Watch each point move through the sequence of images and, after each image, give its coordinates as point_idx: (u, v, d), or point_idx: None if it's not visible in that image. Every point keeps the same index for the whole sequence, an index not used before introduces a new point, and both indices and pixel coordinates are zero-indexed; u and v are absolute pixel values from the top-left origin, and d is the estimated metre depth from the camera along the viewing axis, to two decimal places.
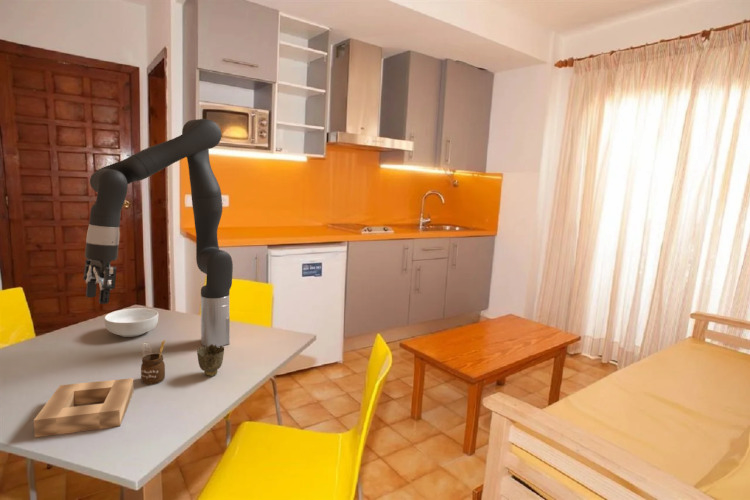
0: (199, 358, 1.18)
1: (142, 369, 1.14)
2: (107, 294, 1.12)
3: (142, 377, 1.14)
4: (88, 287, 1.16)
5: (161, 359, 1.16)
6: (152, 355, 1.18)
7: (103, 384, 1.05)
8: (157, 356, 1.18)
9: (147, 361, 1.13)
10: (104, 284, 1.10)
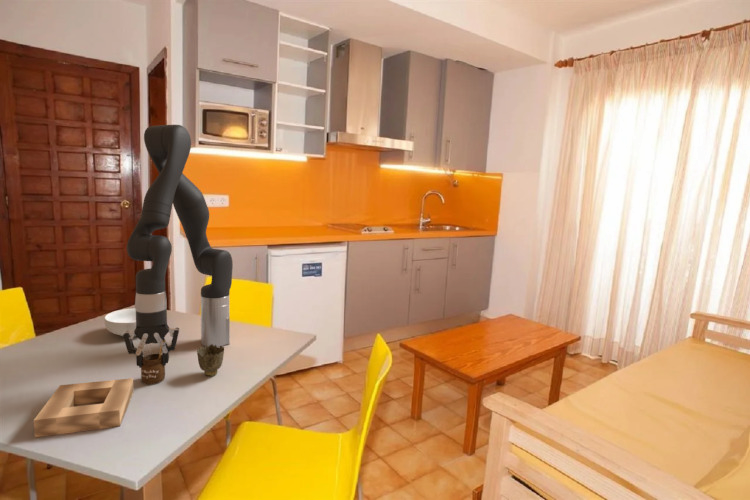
0: (199, 358, 1.18)
1: (142, 369, 1.14)
2: (168, 354, 1.17)
3: (142, 377, 1.14)
4: (141, 358, 1.14)
5: (161, 359, 1.16)
6: (152, 355, 1.18)
7: (103, 384, 1.05)
8: (157, 356, 1.18)
9: (147, 361, 1.13)
10: (173, 346, 1.16)
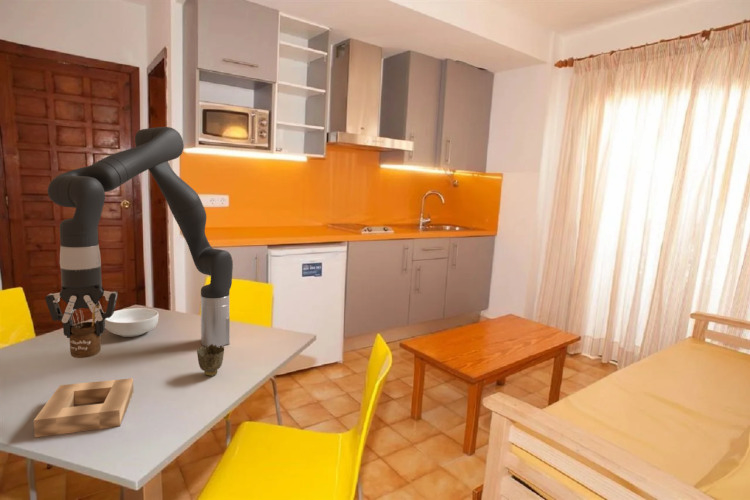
0: (199, 358, 1.18)
1: (70, 339, 0.94)
2: (104, 323, 0.98)
3: (71, 349, 0.95)
4: (69, 326, 0.95)
5: (95, 328, 0.96)
6: (85, 324, 0.98)
7: (103, 384, 1.05)
8: (91, 325, 0.99)
9: (76, 329, 0.94)
10: (109, 312, 0.97)
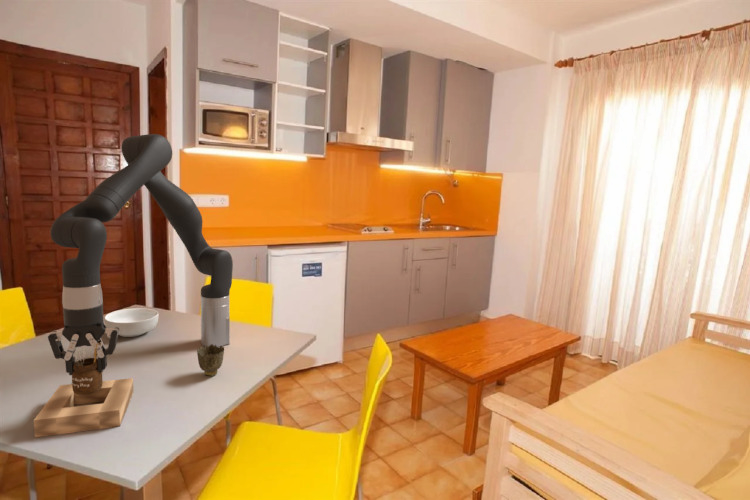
0: (199, 358, 1.18)
1: (73, 376, 0.96)
2: (106, 359, 0.99)
3: (73, 386, 0.96)
4: (72, 363, 0.96)
5: (96, 365, 0.98)
6: (87, 360, 1.00)
7: (103, 384, 1.05)
8: (93, 361, 1.00)
9: (78, 367, 0.95)
10: (110, 349, 0.98)
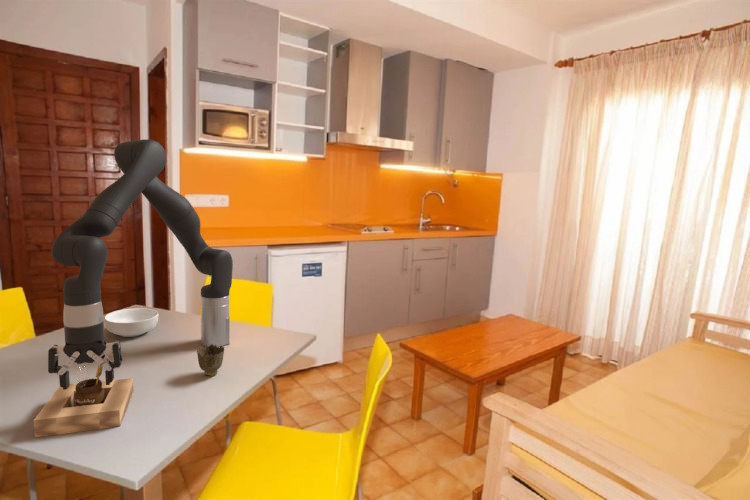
0: (199, 358, 1.18)
1: (75, 398, 0.97)
2: (113, 372, 1.00)
3: None
4: (65, 378, 0.96)
5: (99, 386, 0.99)
6: (89, 381, 1.01)
7: (103, 384, 1.05)
8: (95, 382, 1.01)
9: (81, 389, 0.97)
10: (117, 362, 0.99)
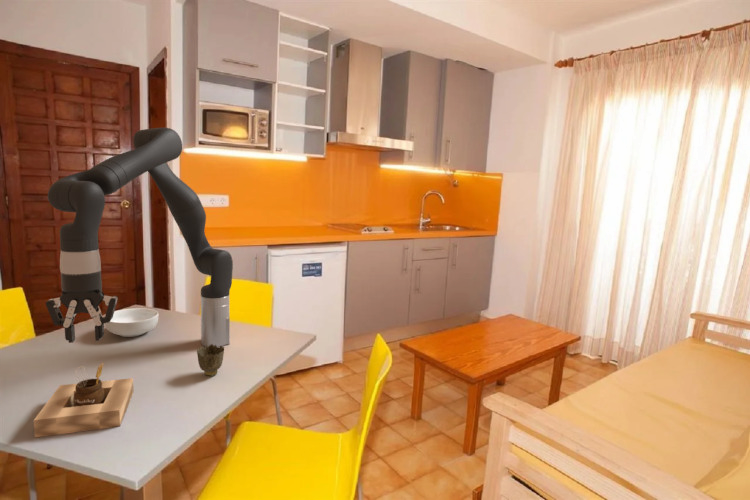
0: (199, 358, 1.18)
1: (75, 398, 0.97)
2: (103, 328, 0.98)
3: None
4: (71, 331, 0.95)
5: (99, 386, 0.99)
6: (89, 381, 1.01)
7: (103, 384, 1.05)
8: (95, 382, 1.01)
9: (81, 389, 0.97)
10: (108, 317, 0.97)
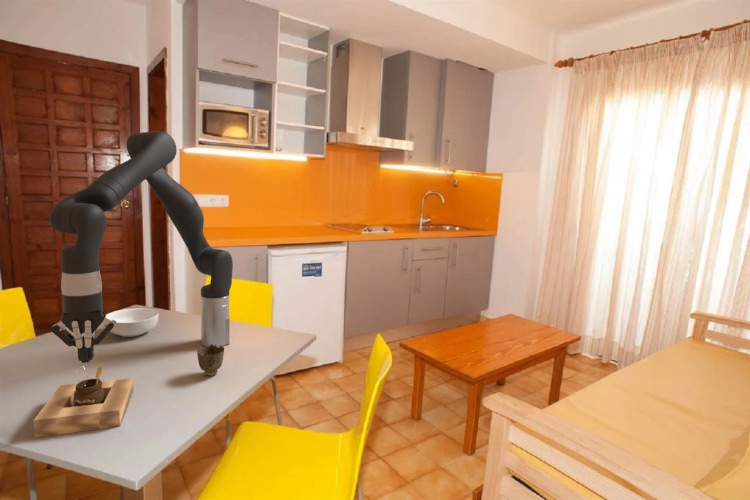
0: (199, 358, 1.18)
1: (75, 398, 0.97)
2: (93, 349, 0.98)
3: None
4: (84, 351, 0.96)
5: (99, 386, 0.99)
6: (89, 381, 1.01)
7: (103, 384, 1.05)
8: (95, 382, 1.01)
9: (81, 389, 0.97)
10: (98, 339, 0.97)
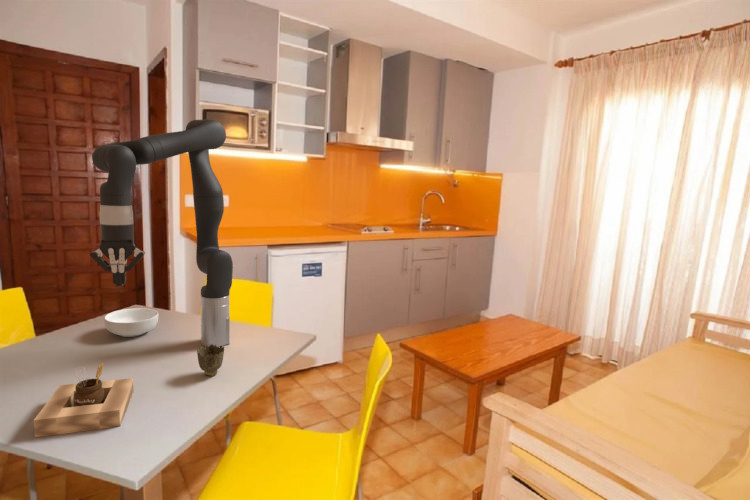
0: (199, 358, 1.18)
1: (75, 398, 0.97)
2: (125, 275, 1.13)
3: None
4: (118, 276, 1.11)
5: (99, 386, 0.99)
6: (89, 381, 1.01)
7: (103, 384, 1.05)
8: (95, 382, 1.01)
9: (81, 389, 0.97)
10: (130, 266, 1.12)
